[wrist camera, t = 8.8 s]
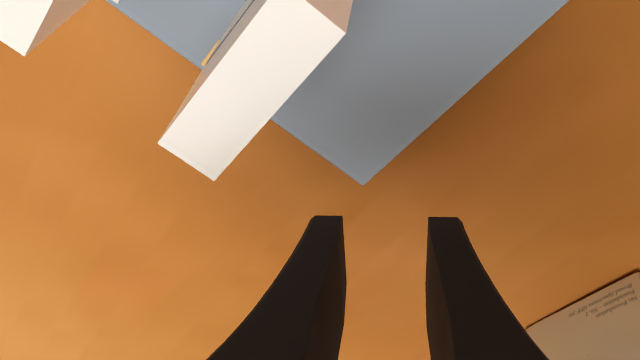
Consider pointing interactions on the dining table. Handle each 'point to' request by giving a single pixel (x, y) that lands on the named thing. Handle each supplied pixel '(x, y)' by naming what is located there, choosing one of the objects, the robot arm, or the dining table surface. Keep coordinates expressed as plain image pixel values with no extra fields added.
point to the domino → (33, 20)
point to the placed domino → (252, 77)
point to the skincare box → (594, 326)
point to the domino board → (369, 66)
